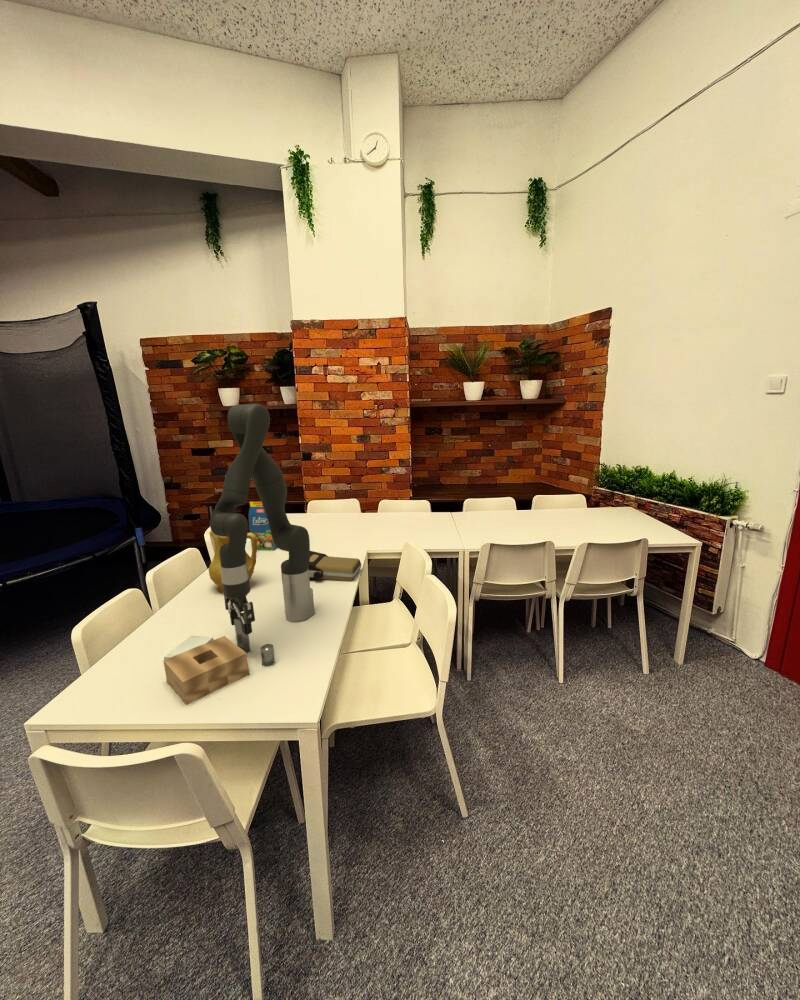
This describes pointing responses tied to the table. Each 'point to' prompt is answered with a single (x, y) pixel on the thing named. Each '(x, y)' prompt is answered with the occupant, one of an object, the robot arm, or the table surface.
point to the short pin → (267, 655)
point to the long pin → (241, 635)
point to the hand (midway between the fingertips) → (241, 628)
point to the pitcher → (215, 564)
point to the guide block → (206, 668)
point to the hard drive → (189, 645)
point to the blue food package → (260, 527)
